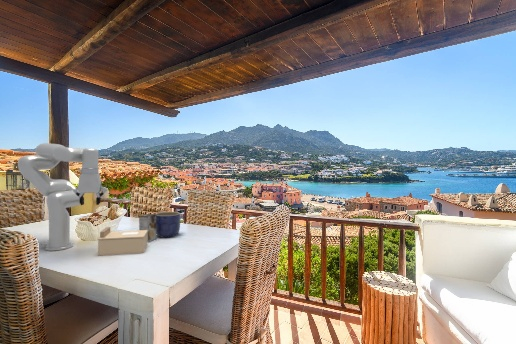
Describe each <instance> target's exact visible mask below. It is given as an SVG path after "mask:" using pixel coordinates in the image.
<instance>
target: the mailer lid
mask: <svg viewBox="0 0 516 344" xmlns="http://www.w3.org/2000/svg"><path fill="white" fill-rule="evenodd" d="M147 232H148V230H139V229H137V230H115V231H113V230H112V231H111V226H106V227H105V228H104V229H102V230H101V231H100V232H99V237H97V241H98V240H105V239H126V238H144V237H145V235H146V233H147Z"/></svg>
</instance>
